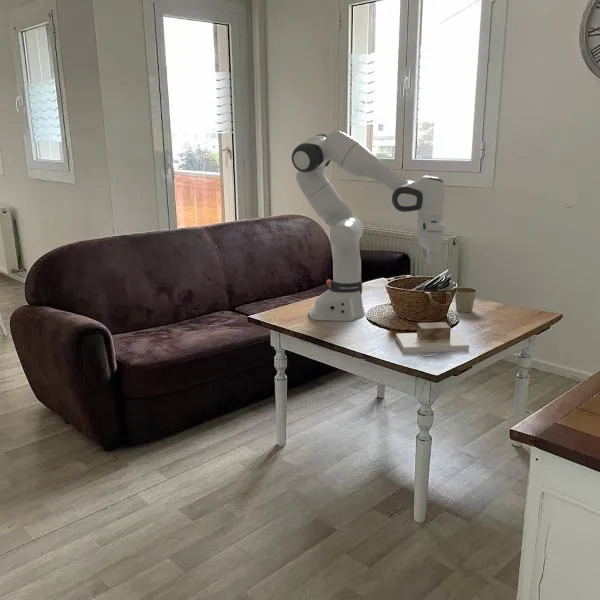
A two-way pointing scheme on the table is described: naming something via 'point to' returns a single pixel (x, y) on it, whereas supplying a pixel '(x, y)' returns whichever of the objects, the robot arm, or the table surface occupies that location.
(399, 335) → the marked board
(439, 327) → the block
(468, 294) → the flower pot
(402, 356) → the table surface
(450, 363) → the table surface
